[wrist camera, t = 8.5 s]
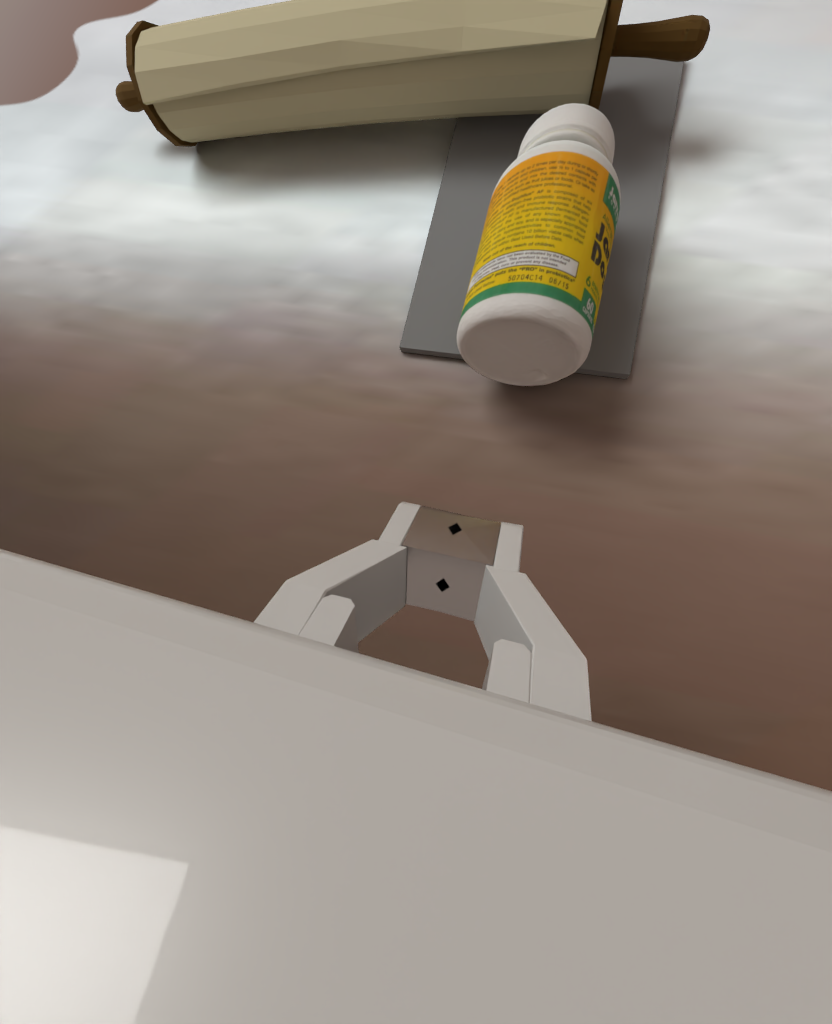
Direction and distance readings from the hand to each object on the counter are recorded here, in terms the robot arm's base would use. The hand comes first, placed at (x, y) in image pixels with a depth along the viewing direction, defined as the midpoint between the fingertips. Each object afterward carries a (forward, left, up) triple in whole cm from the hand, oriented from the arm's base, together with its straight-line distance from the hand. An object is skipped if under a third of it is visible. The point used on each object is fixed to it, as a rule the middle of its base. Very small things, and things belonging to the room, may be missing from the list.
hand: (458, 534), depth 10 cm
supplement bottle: (0, +8, -5) cm, 10 cm away
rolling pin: (-11, +23, -8) cm, 27 cm away
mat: (0, +18, -8) cm, 20 cm away
